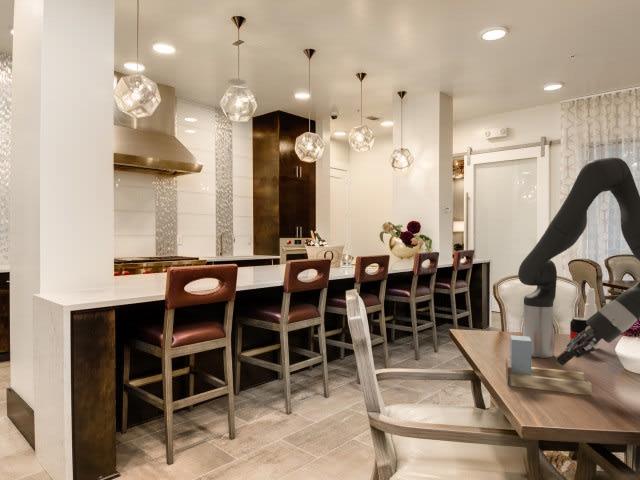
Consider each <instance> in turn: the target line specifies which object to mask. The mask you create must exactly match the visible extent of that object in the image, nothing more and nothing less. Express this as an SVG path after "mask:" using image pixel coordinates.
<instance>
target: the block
mask: <svg viewBox="0 0 640 480" xmlns="http://www.w3.org/2000/svg"><path fill="white" fill-rule="evenodd" d="M509 344H510V347H509V348H510V349H509V352H510V353H509V355H510V357H509V358H510V361H511V366H512V374H522V375H531V367H532V356H531V349H532V341H531V339H530V337H526V336H523V335H512V334H510V343H509Z"/></svg>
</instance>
